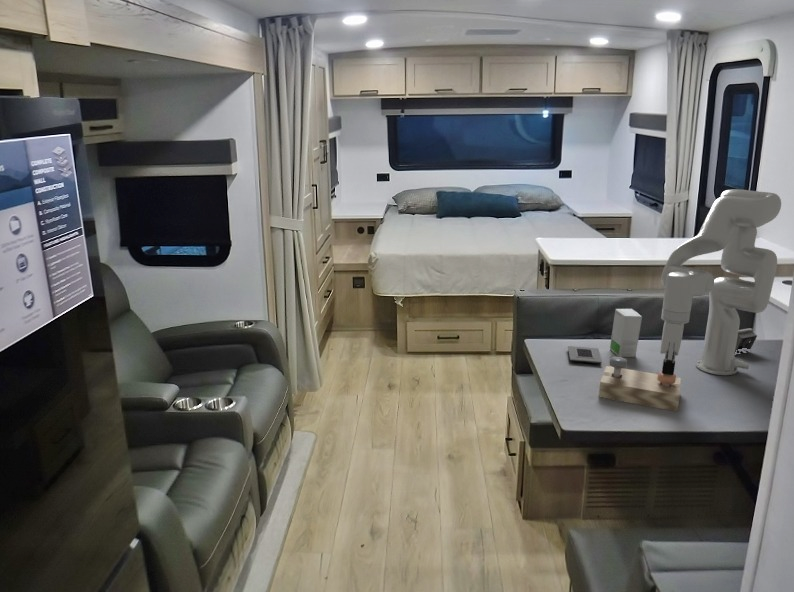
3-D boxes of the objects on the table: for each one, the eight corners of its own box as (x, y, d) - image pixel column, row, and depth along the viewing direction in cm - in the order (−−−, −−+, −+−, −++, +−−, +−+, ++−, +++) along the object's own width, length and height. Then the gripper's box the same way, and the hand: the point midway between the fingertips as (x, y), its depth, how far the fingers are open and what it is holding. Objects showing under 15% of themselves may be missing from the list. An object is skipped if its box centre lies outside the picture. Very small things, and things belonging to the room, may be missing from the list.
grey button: (625, 377, 199) (628, 358, 197) (624, 383, 194) (626, 363, 193) (608, 375, 201) (611, 355, 199) (606, 380, 196) (609, 361, 195)
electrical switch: (741, 349, 236) (747, 325, 232) (753, 355, 231) (760, 331, 228) (722, 352, 232) (728, 329, 229) (734, 358, 228) (741, 335, 224)
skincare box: (609, 349, 233) (614, 308, 229) (626, 348, 234) (631, 308, 230) (619, 357, 225) (624, 315, 221) (637, 357, 226) (642, 315, 222)
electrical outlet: (601, 367, 218) (602, 361, 217) (569, 364, 220) (570, 358, 219) (597, 353, 230) (598, 347, 229) (567, 351, 232) (568, 345, 231)
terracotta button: (673, 393, 194) (676, 373, 192) (672, 399, 190) (675, 379, 188) (655, 390, 196) (658, 370, 194) (654, 396, 192) (657, 376, 190)
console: (678, 392, 198) (680, 377, 196) (677, 411, 186) (679, 395, 184) (604, 380, 206) (606, 365, 205) (598, 397, 194) (600, 381, 193)
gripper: (663, 306, 194) (655, 362, 199) (660, 320, 181) (652, 380, 186) (690, 309, 191) (681, 366, 196) (689, 324, 178) (680, 385, 183)
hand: (667, 373), depth 191 cm, fingers closed
